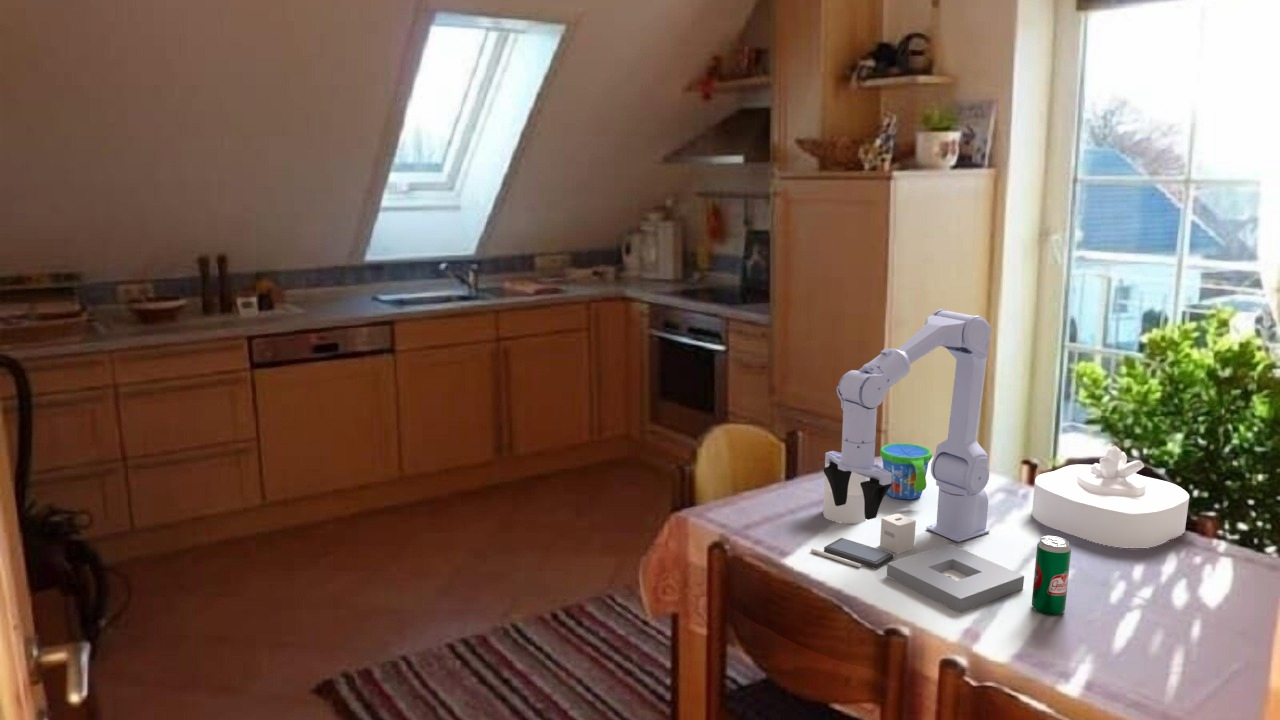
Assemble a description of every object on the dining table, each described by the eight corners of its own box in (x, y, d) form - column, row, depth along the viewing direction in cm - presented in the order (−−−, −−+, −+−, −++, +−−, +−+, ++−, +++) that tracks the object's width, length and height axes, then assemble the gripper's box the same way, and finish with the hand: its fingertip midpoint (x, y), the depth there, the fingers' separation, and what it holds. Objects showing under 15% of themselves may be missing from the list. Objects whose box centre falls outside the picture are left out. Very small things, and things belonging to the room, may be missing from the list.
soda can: (1050, 619, 155) (1056, 549, 152) (1024, 606, 159) (1030, 538, 156) (1071, 612, 157) (1078, 543, 154) (1045, 599, 161) (1052, 532, 159)
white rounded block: (873, 512, 200) (876, 457, 197) (858, 527, 192) (861, 469, 190) (832, 504, 204) (834, 450, 202) (816, 517, 197) (818, 461, 194)
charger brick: (896, 540, 186) (898, 512, 184) (914, 548, 182) (915, 520, 181) (879, 545, 183) (881, 517, 182) (897, 554, 180) (898, 525, 178)
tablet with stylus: (832, 539, 186) (833, 534, 186) (893, 558, 177) (893, 553, 177) (810, 552, 180) (810, 546, 180) (871, 572, 172) (871, 566, 171)
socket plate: (948, 555, 179) (949, 543, 178) (1023, 588, 165) (1024, 575, 165) (886, 576, 170) (887, 563, 170) (959, 612, 157) (960, 598, 157)
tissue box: (1201, 528, 192) (1212, 450, 188) (1132, 557, 178) (1142, 474, 175) (1084, 491, 212) (1091, 420, 209) (1014, 515, 198) (1021, 440, 195)
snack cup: (868, 483, 217) (871, 439, 215) (914, 481, 218) (917, 438, 215) (890, 508, 202) (893, 462, 200) (940, 507, 202) (943, 461, 200)
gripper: (813, 432, 174) (810, 503, 177) (872, 453, 162) (868, 529, 165) (842, 426, 178) (839, 495, 181) (902, 446, 166) (897, 520, 169)
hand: (855, 511), depth 173 cm, fingers open, 7 cm apart
